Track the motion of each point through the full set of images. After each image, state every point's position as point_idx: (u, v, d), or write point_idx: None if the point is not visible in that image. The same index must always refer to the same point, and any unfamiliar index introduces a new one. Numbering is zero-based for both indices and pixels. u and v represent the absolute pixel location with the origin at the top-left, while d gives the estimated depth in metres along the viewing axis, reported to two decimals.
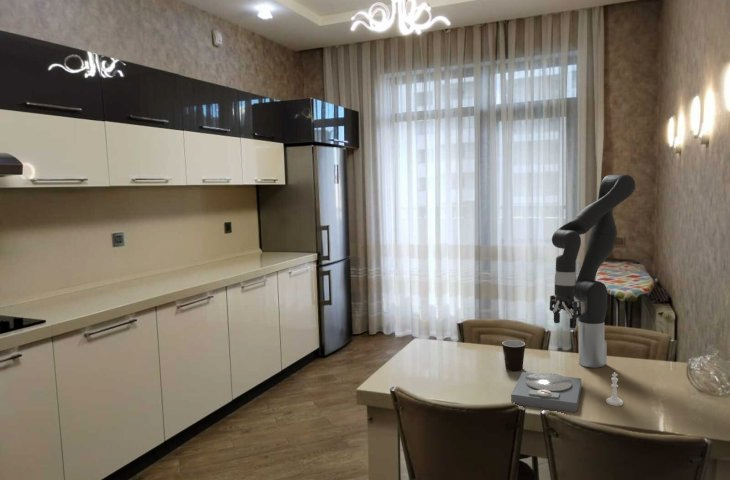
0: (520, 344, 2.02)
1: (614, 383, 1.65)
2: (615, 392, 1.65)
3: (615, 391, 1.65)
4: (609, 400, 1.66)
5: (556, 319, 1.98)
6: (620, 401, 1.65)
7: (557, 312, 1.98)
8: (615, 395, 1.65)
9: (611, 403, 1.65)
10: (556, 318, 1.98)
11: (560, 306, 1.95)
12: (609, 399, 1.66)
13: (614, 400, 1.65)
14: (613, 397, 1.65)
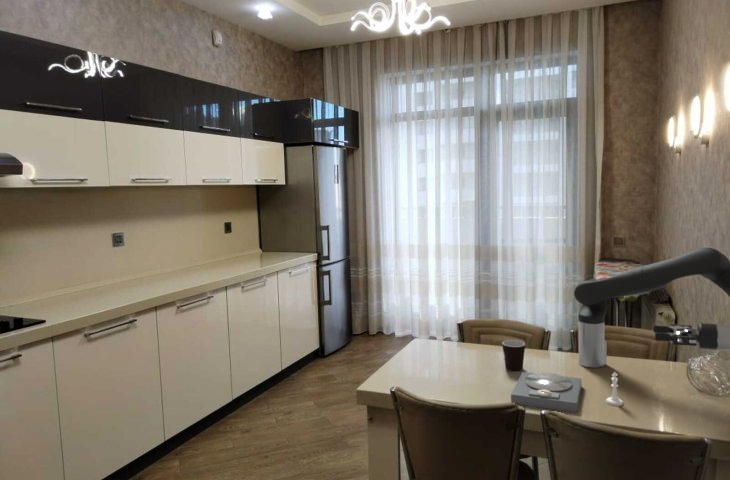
0: (520, 344, 2.02)
1: (614, 383, 1.65)
2: (615, 392, 1.65)
3: (615, 391, 1.65)
4: (609, 400, 1.66)
5: None
6: (620, 401, 1.65)
7: None
8: (615, 395, 1.65)
9: (611, 403, 1.65)
10: None
11: None
12: (609, 399, 1.66)
13: (614, 400, 1.65)
14: (613, 397, 1.65)
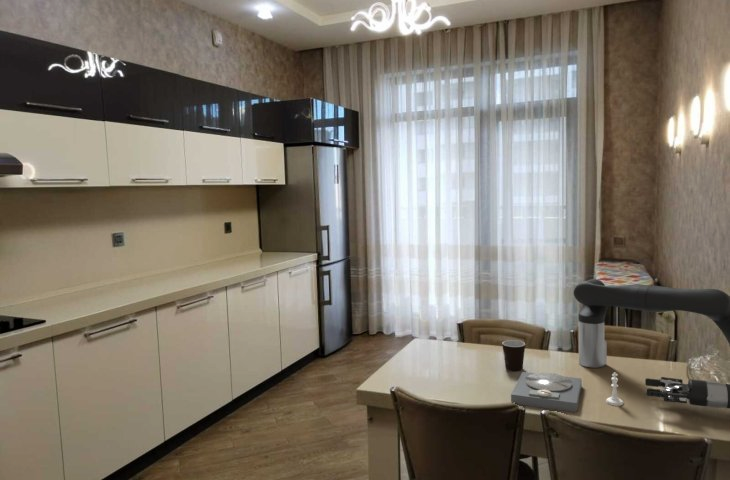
0: (520, 344, 2.02)
1: (614, 383, 1.65)
2: (615, 392, 1.65)
3: (615, 391, 1.65)
4: (609, 400, 1.66)
5: None
6: (620, 401, 1.65)
7: None
8: (615, 395, 1.65)
9: (611, 403, 1.65)
10: None
11: None
12: (609, 399, 1.66)
13: (614, 400, 1.65)
14: (613, 397, 1.65)
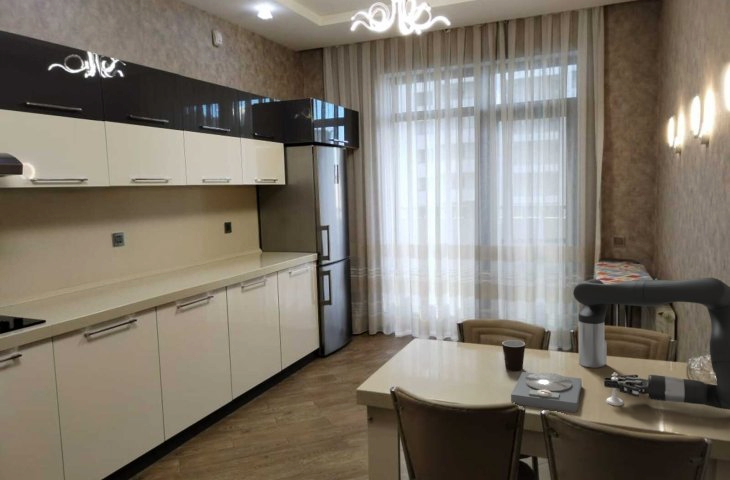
0: (520, 344, 2.02)
1: None
2: (615, 392, 1.65)
3: (615, 391, 1.65)
4: (609, 400, 1.66)
5: None
6: (620, 401, 1.65)
7: None
8: (615, 395, 1.65)
9: (611, 403, 1.65)
10: None
11: None
12: (609, 399, 1.66)
13: (614, 400, 1.65)
14: (613, 397, 1.65)
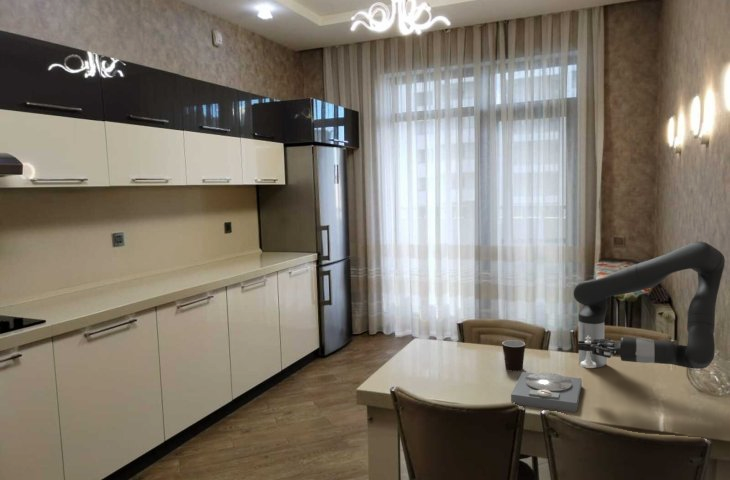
0: (520, 344, 2.02)
1: None
2: (588, 355, 1.68)
3: (588, 354, 1.68)
4: (583, 363, 1.69)
5: None
6: (593, 364, 1.68)
7: None
8: (588, 358, 1.68)
9: (585, 366, 1.68)
10: None
11: None
12: (583, 362, 1.69)
13: (588, 363, 1.68)
14: (587, 360, 1.69)
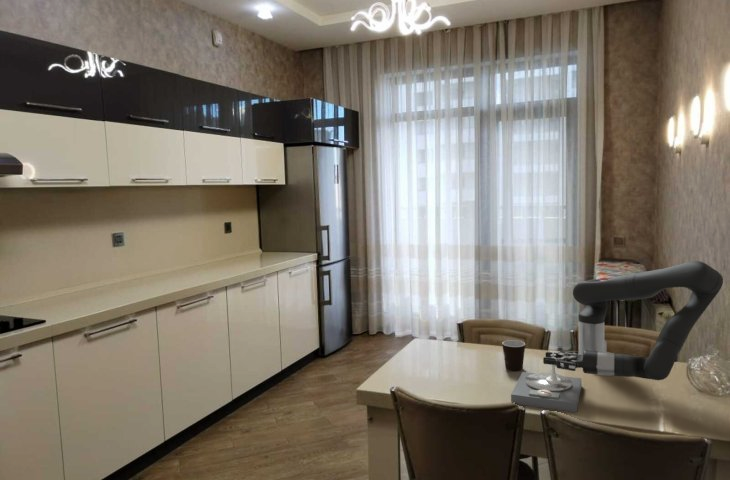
0: (520, 344, 2.02)
1: None
2: (554, 371, 1.75)
3: (554, 370, 1.75)
4: (548, 379, 1.75)
5: None
6: (558, 380, 1.74)
7: None
8: (553, 374, 1.75)
9: (549, 381, 1.74)
10: None
11: None
12: (548, 378, 1.76)
13: (552, 379, 1.74)
14: (552, 376, 1.75)
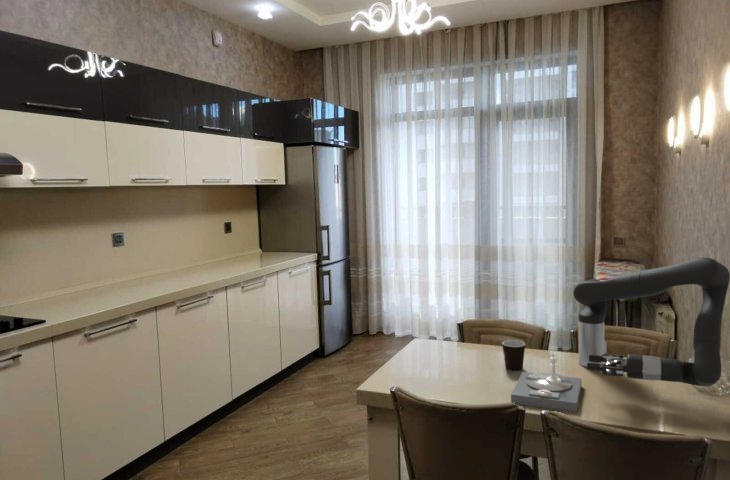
0: (520, 344, 2.02)
1: (553, 363, 1.75)
2: (553, 371, 1.75)
3: (554, 370, 1.75)
4: (548, 379, 1.75)
5: None
6: (558, 380, 1.74)
7: None
8: (553, 374, 1.75)
9: (549, 381, 1.74)
10: None
11: None
12: (548, 378, 1.76)
13: (552, 379, 1.74)
14: (552, 376, 1.75)
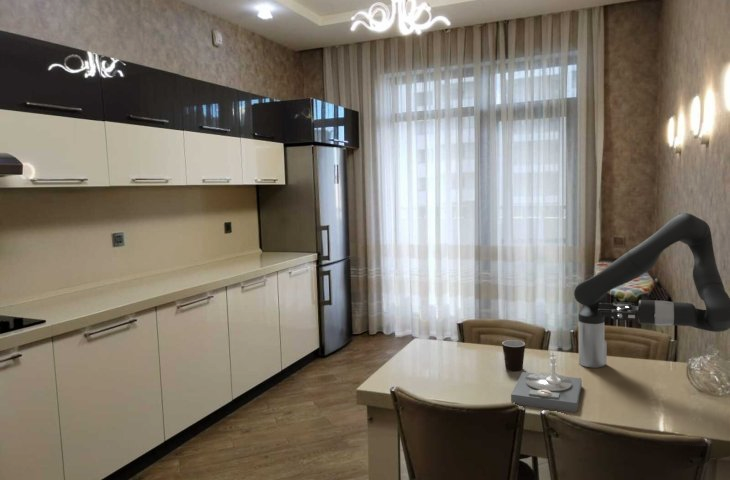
0: (520, 344, 2.02)
1: (552, 363, 1.75)
2: (553, 371, 1.75)
3: (553, 370, 1.75)
4: (548, 379, 1.75)
5: None
6: (558, 380, 1.74)
7: None
8: (553, 374, 1.75)
9: (549, 381, 1.74)
10: None
11: None
12: (548, 378, 1.76)
13: (552, 379, 1.74)
14: (552, 376, 1.75)
